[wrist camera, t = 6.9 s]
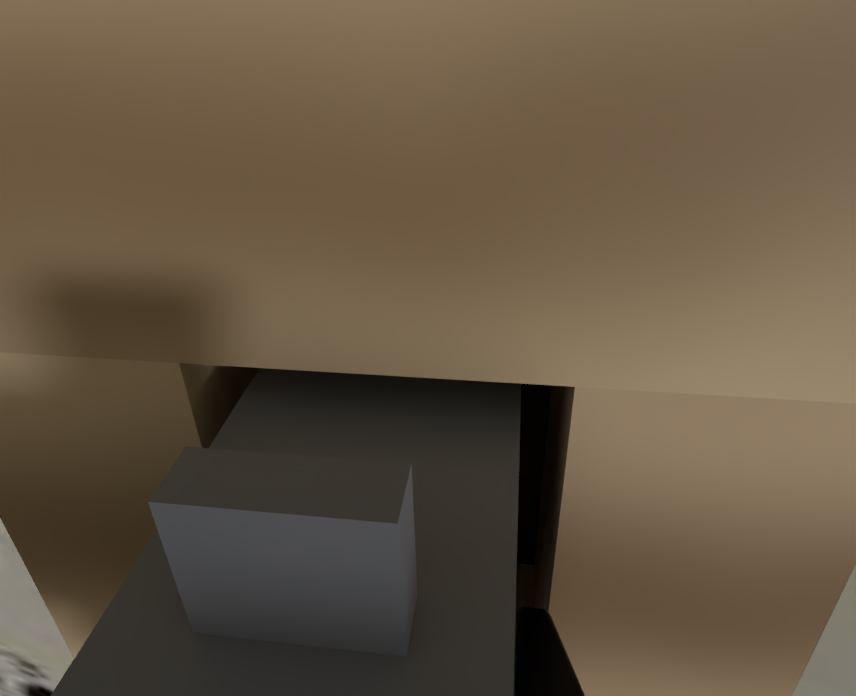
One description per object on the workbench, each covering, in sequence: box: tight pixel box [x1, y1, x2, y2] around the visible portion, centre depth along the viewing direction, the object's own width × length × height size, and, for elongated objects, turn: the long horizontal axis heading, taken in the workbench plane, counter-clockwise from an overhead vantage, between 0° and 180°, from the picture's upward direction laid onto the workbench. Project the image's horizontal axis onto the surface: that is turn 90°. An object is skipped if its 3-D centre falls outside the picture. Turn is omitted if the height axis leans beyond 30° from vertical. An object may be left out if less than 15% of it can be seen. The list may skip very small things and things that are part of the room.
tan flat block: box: [0, 0, 856, 696], centre depth 11 cm, size 16×12×4 cm
